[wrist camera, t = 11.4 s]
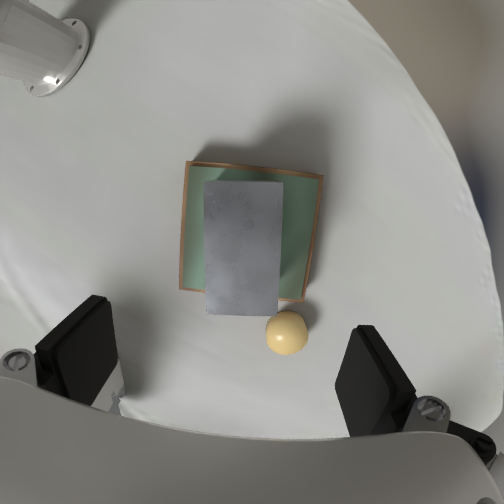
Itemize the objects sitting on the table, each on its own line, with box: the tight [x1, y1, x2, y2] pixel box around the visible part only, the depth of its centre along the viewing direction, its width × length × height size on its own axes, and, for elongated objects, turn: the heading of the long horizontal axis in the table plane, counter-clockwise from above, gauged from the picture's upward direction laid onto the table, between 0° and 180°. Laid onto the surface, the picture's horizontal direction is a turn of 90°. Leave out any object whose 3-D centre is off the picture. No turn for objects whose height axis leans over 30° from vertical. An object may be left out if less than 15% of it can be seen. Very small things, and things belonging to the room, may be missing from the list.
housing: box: [203, 179, 283, 316], centre depth 26 cm, size 11×6×7 cm, turn 179°
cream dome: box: [266, 311, 308, 355], centre depth 35 cm, size 5×5×2 cm
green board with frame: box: [179, 161, 323, 303], centre depth 31 cm, size 14×14×3 cm
